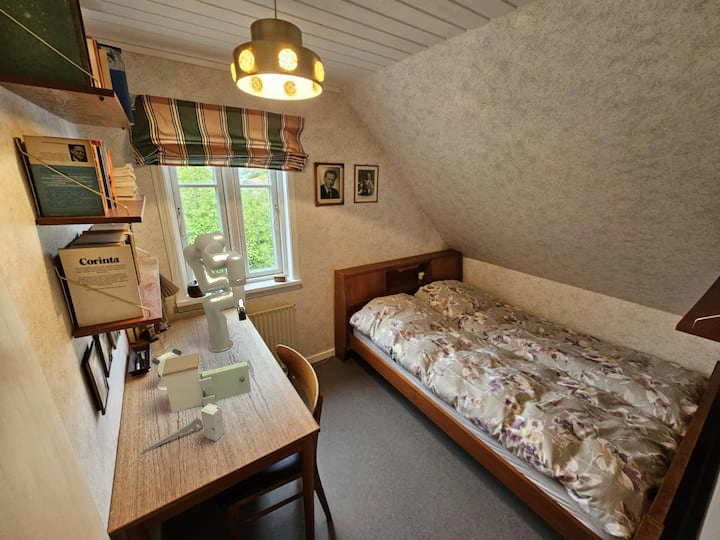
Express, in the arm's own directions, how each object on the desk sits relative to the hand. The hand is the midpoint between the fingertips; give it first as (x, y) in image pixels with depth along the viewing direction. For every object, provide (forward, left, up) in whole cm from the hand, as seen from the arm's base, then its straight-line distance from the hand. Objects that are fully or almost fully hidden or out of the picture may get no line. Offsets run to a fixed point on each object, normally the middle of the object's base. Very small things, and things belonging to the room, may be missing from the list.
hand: (241, 315), depth 146 cm
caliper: (+32, -30, -31) cm, 54 cm away
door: (+15, -10, -30) cm, 35 cm away
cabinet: (+12, -24, -30) cm, 40 cm away
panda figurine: (-6, -34, -31) cm, 46 cm away
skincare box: (+36, -16, -31) cm, 50 cm away
